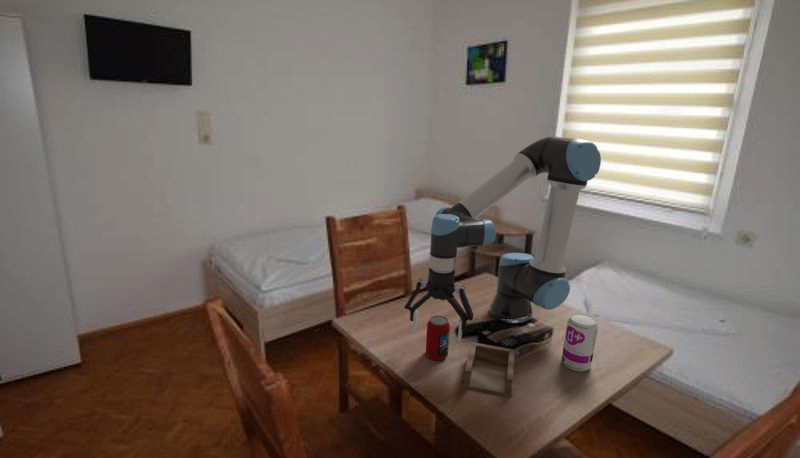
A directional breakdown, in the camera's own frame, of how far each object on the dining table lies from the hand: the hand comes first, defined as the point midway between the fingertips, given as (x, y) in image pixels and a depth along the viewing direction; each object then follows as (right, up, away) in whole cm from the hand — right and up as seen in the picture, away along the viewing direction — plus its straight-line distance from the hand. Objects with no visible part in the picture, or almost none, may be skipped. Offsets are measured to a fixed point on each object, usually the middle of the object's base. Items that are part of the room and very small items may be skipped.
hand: (436, 335), depth 128 cm
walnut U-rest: (+14, -10, -7) cm, 19 cm away
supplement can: (+41, -9, 0) cm, 42 cm away
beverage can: (0, -7, +2) cm, 7 cm away
